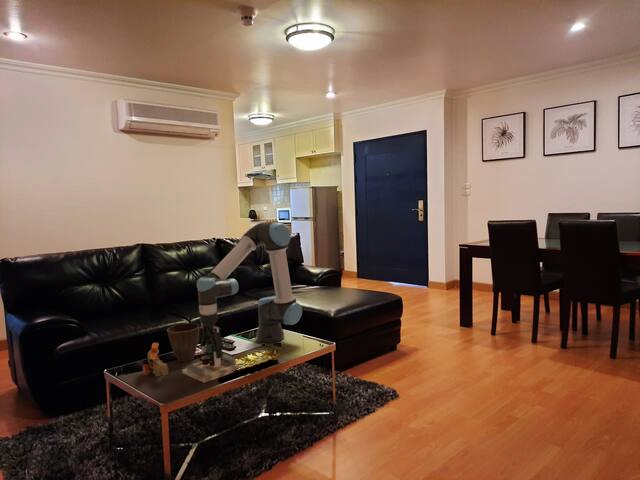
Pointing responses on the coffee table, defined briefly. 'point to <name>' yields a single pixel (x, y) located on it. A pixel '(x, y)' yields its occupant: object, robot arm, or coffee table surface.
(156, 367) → the toy helicopter
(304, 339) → the coffee table surface
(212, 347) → the binoculars
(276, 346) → the coffee table surface
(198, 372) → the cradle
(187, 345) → the plant pot
